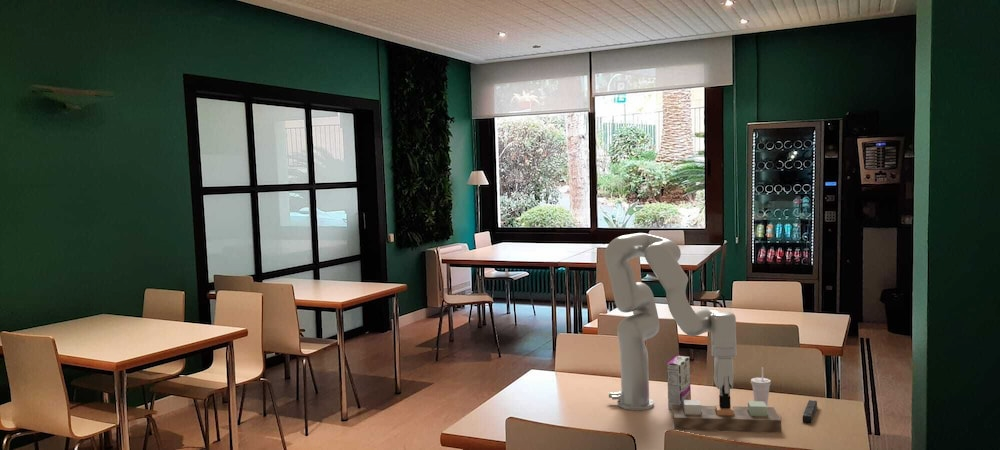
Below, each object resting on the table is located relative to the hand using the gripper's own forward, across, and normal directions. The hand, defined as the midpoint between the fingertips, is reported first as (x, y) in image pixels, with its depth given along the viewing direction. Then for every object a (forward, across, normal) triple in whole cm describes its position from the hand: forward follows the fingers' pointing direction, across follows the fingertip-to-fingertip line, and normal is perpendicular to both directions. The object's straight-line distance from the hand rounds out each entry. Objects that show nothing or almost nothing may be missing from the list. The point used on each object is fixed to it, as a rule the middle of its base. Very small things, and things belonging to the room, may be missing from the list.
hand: (725, 407), depth 224 cm
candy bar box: (+6, -17, -13) cm, 22 cm away
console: (+6, 0, 0) cm, 6 cm away
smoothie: (+6, -17, +14) cm, 23 cm away
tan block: (+4, 0, 0) cm, 4 cm away
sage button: (+3, 0, +10) cm, 10 cm away
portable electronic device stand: (+6, -11, +28) cm, 31 cm away
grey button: (+3, 0, -10) cm, 10 cm away
